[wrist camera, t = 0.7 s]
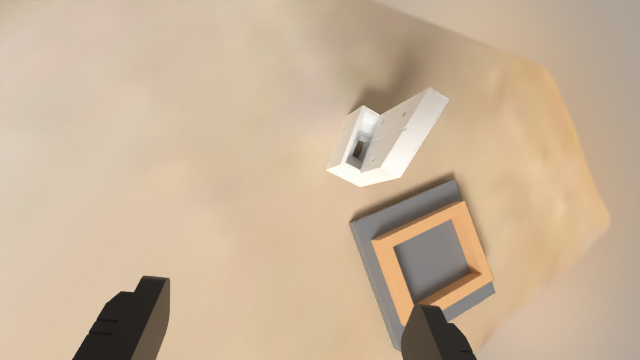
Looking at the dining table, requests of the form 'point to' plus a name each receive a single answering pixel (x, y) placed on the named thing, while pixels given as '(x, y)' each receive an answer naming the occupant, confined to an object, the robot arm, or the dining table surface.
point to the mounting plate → (423, 256)
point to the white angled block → (385, 139)
